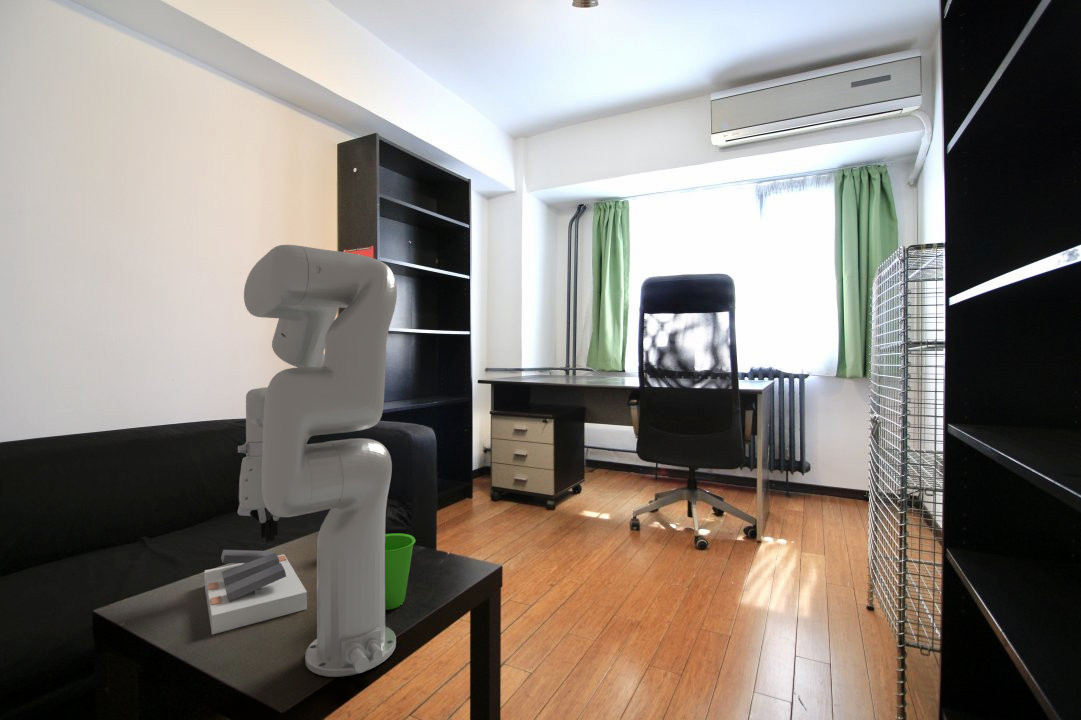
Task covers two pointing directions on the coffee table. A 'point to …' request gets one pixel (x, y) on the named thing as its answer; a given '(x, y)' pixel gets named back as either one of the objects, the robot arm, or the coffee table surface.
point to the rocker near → (255, 582)
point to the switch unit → (252, 599)
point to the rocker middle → (249, 568)
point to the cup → (397, 568)
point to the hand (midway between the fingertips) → (268, 540)
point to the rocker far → (242, 555)
